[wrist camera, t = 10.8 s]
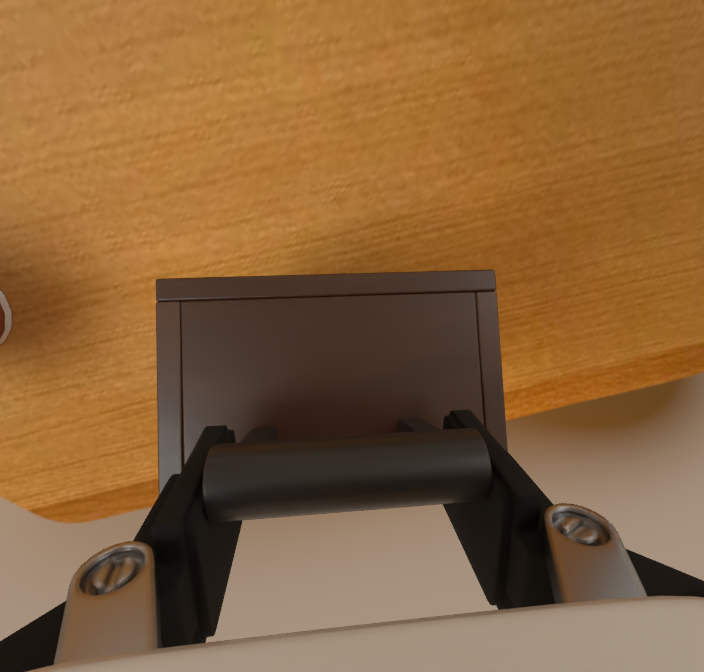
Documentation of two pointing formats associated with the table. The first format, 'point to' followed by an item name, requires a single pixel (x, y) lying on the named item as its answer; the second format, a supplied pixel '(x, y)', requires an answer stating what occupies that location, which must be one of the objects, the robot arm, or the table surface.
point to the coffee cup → (4, 318)
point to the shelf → (330, 389)
